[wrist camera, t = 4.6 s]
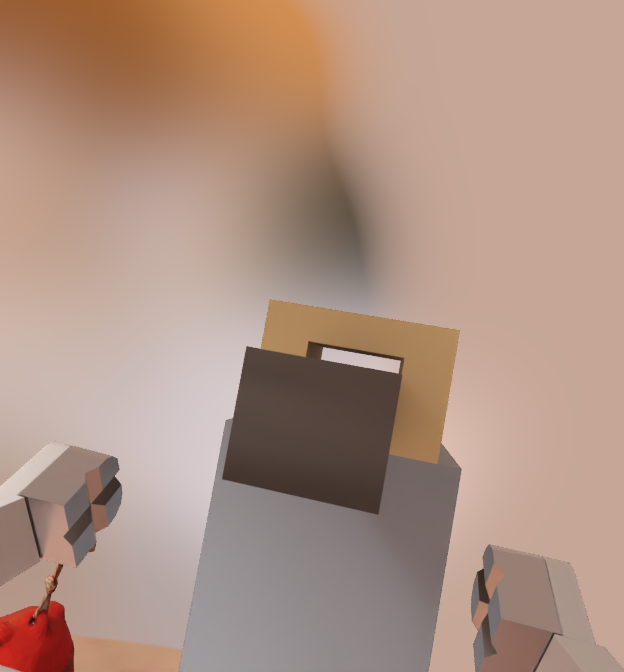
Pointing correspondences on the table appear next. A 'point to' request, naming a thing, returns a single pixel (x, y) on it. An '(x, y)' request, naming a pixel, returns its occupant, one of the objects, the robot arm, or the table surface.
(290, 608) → the post
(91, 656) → the table surface
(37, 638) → the red clay folk toy
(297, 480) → the block
